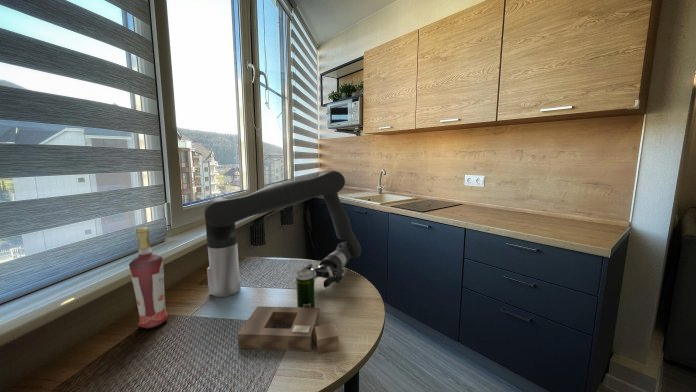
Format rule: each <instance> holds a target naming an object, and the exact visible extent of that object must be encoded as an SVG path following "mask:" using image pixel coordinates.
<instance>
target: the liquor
mask: <svg viewBox="0 0 696 392" xmlns="http://www.w3.org/2000/svg"><path fill="white" fill-rule="evenodd" d="M135 233H136V237H137V240H138V256H137V257H135V258H134V259H132V260H131V262H129V263H128V266H129V271H130V277H131V283H132V285H133V289H134V295H135V300H136V305H137V309H138V310H137V311H138V317H139V322H138V323H137V325H138V326H139V327H141V328H143V329H147V330H149V328H150V329H154V327H155V328H156V327H159V326H160V325H162V324H163V323H165V322H166V320H167V319H168V318H169V313H168V312H167V309H166V294H165V293H166V292H165V273H164V272H165V271H164V260H163V256H161V255H159V254H155V253H153V251H152V247H151V243H150V229H149V227H147V226H146V227H145V226H144V227H138V228H136V229H135Z"/></svg>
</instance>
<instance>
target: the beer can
mask: <svg viewBox="0 0 696 392" xmlns="http://www.w3.org/2000/svg"><path fill="white" fill-rule="evenodd" d="M303 269H304V268H303ZM314 275H315V273H314V274H313V271H312V270H309V269H304V270H302V269H301V270H298V271H297V272H296V277H295V280H296V281H295V282H296V283H295V285H296V301H297V305H296V307H304V308H316V307H315V306H316V300H315V299H316V298H315V297H316V296H315V294H316V293H315V291H316V290H315V278H314Z"/></svg>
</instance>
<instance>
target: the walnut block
mask: <svg viewBox="0 0 696 392" xmlns="http://www.w3.org/2000/svg"><path fill="white" fill-rule="evenodd" d="M314 342H315V347H316V350H317V351H316V352H317V354H318V355H323V354H326V353H327V354H328V353H332V352H337V351H339V334H338V331H337V329H336V325H335V323H328V324H322V325H318V326H316V327H315V338H314Z"/></svg>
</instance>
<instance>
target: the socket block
mask: <svg viewBox="0 0 696 392" xmlns="http://www.w3.org/2000/svg"><path fill="white" fill-rule="evenodd" d="M319 308H320V307H315V308H304V307H297V306H296V307H295V306H264V305H263V306H262V305H260V306H259V305H258V306H256V307H255V309H254V311H253V312H252V313H251V315H250V316H249V317H248V318H247V320H246V322H245V323H244V324H243V326H242V327H241V329H240V330H239V332H237V342H238V343H237V345H238V349H239V348H248V349H247V350H256V349H265V350H264V351H289V352H312V350H313V345H314V342H315V327H316V326H319V324H320V309H319ZM274 326H291V327H290V328H277V327H276V328H274Z"/></svg>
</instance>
